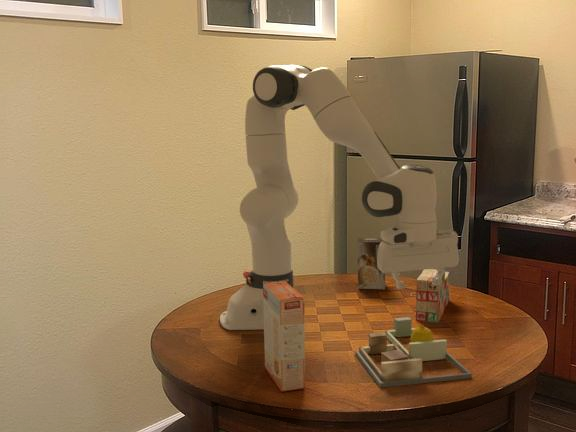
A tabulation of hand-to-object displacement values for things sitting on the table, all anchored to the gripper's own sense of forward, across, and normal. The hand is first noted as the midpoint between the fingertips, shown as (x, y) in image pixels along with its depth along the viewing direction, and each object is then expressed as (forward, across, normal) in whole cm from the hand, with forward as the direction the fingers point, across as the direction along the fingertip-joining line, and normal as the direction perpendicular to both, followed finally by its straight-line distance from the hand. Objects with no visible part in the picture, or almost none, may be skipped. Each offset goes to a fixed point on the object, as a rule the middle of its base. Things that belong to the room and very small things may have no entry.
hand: (418, 286), depth 156 cm
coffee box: (+16, -6, -53) cm, 56 cm away
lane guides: (+16, +6, +9) cm, 19 cm away
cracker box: (+16, +36, +9) cm, 40 cm away
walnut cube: (+16, +11, +12) cm, 23 cm away
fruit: (+16, +1, +4) cm, 17 cm away
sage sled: (+16, +1, -1) cm, 16 cm away
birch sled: (+16, +11, +8) cm, 21 cm away
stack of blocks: (+16, -16, -26) cm, 34 cm away
